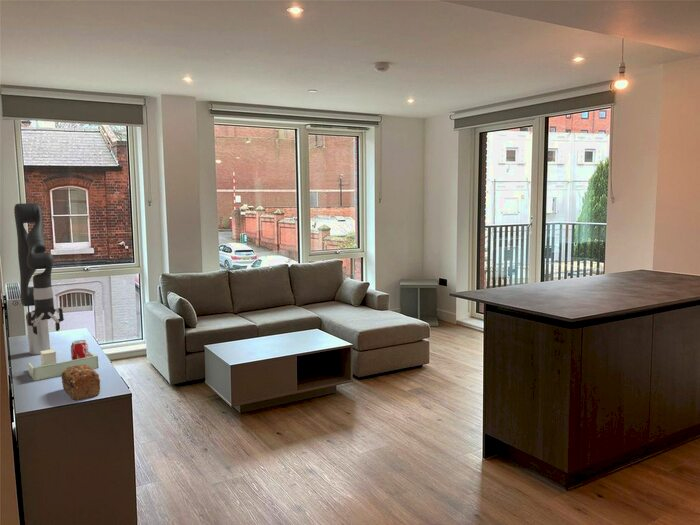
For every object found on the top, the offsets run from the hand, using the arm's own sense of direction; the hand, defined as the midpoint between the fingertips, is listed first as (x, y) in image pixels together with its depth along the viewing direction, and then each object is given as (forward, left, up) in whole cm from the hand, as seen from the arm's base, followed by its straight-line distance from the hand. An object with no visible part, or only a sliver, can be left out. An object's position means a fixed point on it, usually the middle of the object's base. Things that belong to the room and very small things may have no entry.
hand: (46, 332), depth 250 cm
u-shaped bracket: (+10, +4, -16) cm, 19 cm away
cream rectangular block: (0, 0, -16) cm, 16 cm away
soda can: (+10, +11, -17) cm, 22 cm away
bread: (+45, +2, -17) cm, 48 cm away
